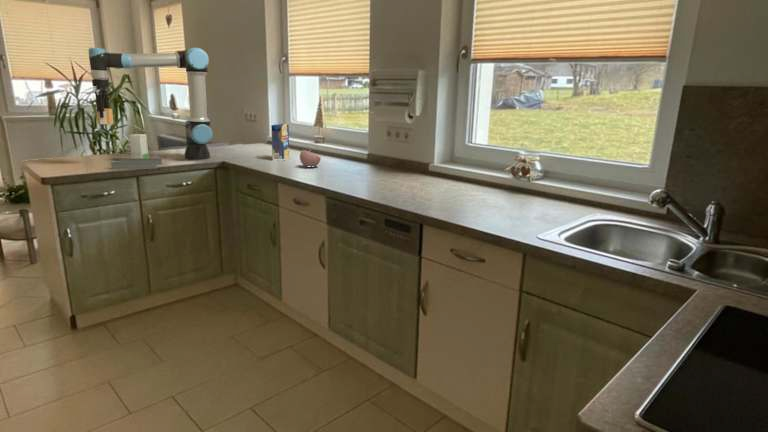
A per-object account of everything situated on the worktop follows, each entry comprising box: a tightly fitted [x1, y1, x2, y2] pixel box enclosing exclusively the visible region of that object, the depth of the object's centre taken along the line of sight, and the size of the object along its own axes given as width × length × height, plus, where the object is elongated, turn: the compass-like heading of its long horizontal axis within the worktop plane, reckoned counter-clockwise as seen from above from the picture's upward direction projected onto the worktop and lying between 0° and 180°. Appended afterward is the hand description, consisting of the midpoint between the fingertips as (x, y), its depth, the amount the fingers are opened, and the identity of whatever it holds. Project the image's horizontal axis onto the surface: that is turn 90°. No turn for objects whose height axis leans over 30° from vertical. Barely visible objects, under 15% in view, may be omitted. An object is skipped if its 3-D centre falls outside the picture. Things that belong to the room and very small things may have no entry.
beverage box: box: [270, 123, 290, 159], centre depth 302 cm, size 7×11×22 cm, turn 169°
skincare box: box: [128, 133, 149, 158], centre depth 280 cm, size 8×7×16 cm
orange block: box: [95, 108, 114, 125], centre depth 258 cm, size 6×6×8 cm
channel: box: [110, 157, 163, 170], centre depth 264 cm, size 22×15×3 cm
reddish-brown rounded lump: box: [299, 147, 321, 168], centre depth 279 cm, size 12×12×11 cm
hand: (105, 123), depth 259 cm, fingers closed on orange block, 6 cm apart
